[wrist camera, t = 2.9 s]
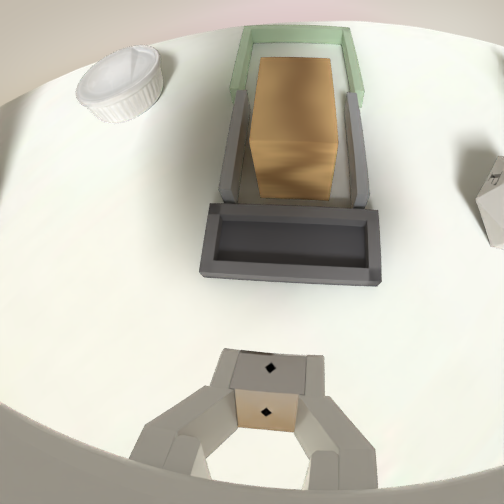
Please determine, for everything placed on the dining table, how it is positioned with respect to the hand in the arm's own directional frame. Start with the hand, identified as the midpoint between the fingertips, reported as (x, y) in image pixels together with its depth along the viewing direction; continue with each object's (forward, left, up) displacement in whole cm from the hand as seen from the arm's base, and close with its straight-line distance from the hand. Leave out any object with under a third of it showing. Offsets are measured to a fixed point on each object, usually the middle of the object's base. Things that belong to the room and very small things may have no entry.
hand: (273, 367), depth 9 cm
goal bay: (0, +33, -15) cm, 36 cm away
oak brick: (0, +19, -15) cm, 24 cm away
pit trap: (0, +10, -15) cm, 18 cm away
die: (+21, +13, -15) cm, 29 cm away
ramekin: (-21, +29, -15) cm, 39 cm away
